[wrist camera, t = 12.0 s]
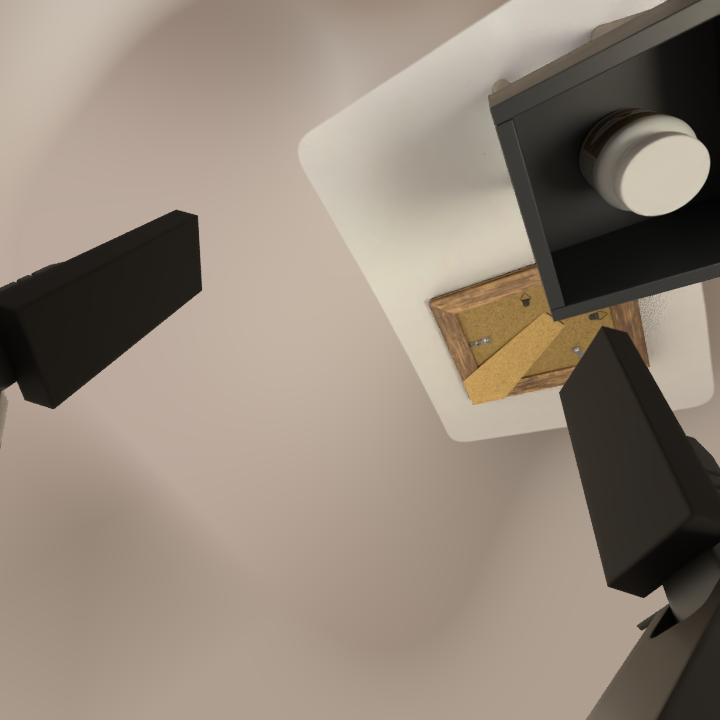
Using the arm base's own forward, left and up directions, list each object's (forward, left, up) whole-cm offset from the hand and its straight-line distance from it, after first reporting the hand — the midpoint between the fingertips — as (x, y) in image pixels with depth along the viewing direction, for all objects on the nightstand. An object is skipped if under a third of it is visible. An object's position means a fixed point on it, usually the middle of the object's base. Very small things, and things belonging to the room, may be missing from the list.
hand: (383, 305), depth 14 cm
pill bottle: (-4, +10, -19) cm, 22 cm away
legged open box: (-4, +10, -41) cm, 43 cm away
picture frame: (+20, +19, -41) cm, 49 cm away
